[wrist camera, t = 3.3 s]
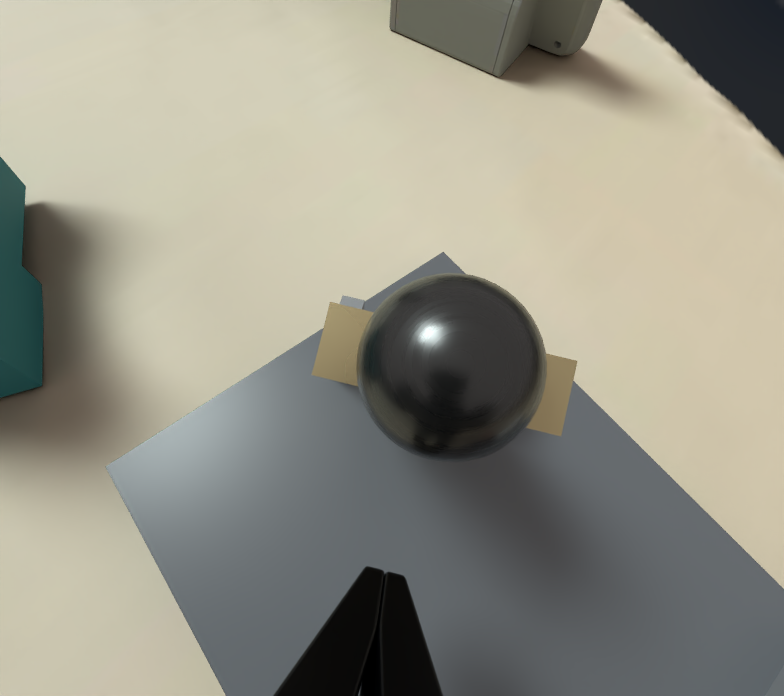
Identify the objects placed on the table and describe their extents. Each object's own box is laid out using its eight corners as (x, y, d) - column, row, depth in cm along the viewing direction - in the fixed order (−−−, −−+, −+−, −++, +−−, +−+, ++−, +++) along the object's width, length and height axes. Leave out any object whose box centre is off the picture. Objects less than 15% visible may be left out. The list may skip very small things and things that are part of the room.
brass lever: (460, 419, 16) (618, 526, 4) (360, 394, 17) (257, 435, 5) (475, 354, 17) (665, 291, 5) (376, 330, 17) (316, 210, 5)
